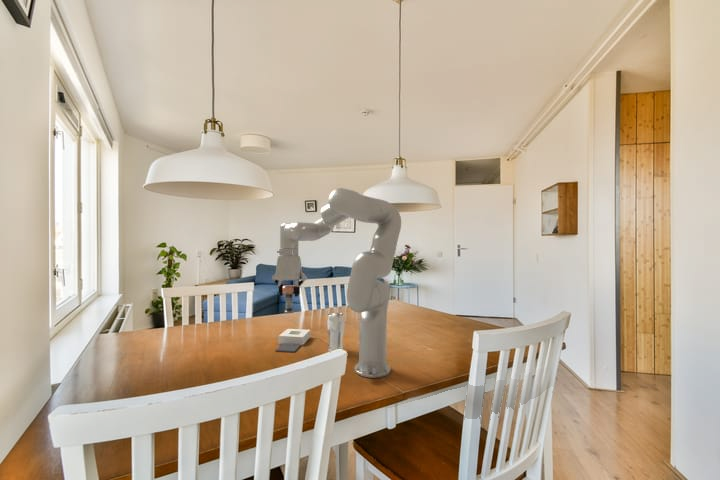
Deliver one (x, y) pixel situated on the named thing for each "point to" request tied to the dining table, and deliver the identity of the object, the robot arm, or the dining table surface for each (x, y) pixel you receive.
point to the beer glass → (335, 330)
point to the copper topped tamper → (289, 297)
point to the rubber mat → (288, 348)
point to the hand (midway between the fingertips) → (289, 295)
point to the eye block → (294, 336)
